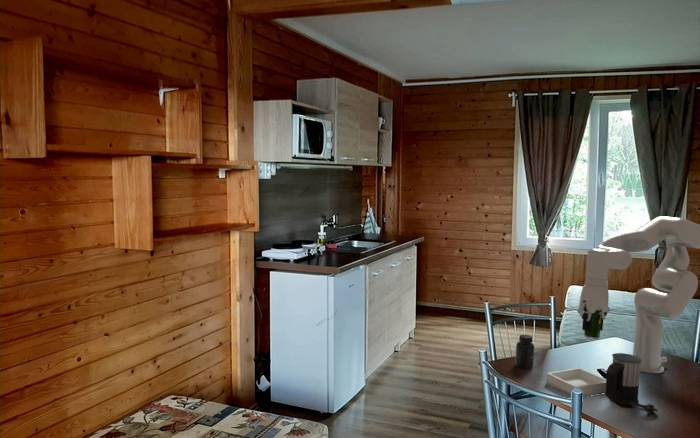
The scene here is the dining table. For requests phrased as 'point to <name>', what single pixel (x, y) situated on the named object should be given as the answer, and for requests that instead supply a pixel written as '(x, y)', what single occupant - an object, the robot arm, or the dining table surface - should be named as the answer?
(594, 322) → the beer can
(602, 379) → the tray
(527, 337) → the supplement bottle
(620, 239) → the robot arm
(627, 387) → the milk frother
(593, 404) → the dining table surface
